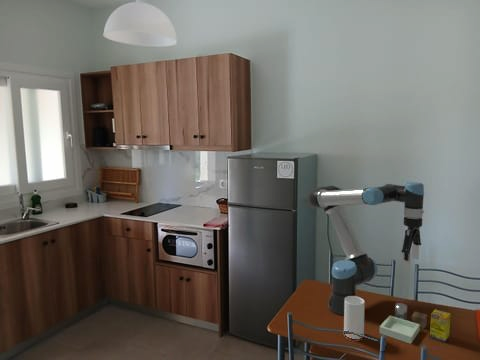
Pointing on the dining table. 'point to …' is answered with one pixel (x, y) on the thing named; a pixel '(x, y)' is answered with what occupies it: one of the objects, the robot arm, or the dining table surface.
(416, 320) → the walnut block
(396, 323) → the tray
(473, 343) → the dining table surface
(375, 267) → the robot arm
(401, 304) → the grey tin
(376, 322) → the dining table surface
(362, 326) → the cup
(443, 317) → the supplement box
